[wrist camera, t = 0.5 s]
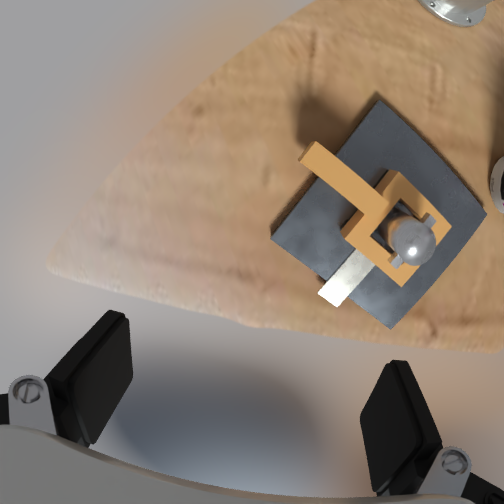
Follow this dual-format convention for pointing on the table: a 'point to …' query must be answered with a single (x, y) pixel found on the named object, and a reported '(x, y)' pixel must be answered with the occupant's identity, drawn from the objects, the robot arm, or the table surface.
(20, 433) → the robot arm
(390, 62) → the table surface
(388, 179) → the tan wooden bracket
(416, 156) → the base plate
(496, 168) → the supplement can
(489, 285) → the table surface
